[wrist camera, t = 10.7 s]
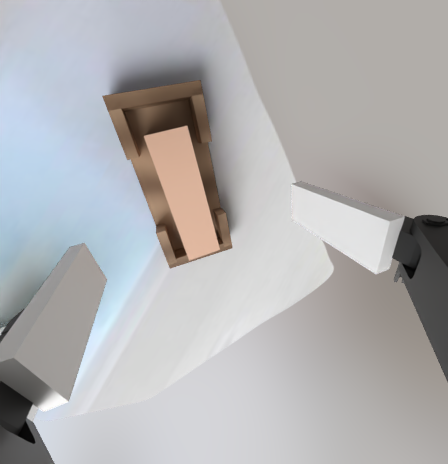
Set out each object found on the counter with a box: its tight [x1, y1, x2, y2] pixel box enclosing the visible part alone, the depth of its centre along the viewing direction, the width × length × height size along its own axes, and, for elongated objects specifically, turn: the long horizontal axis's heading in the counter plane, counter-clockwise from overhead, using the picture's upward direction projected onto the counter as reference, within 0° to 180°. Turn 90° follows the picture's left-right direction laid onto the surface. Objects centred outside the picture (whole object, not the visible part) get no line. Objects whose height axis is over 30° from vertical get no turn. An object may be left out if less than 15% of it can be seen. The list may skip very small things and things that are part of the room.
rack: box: [103, 80, 232, 268], centre depth 25 cm, size 20×9×3 cm, turn 10°
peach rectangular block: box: [144, 126, 220, 261], centre depth 24 cm, size 14×4×6 cm, turn 12°
